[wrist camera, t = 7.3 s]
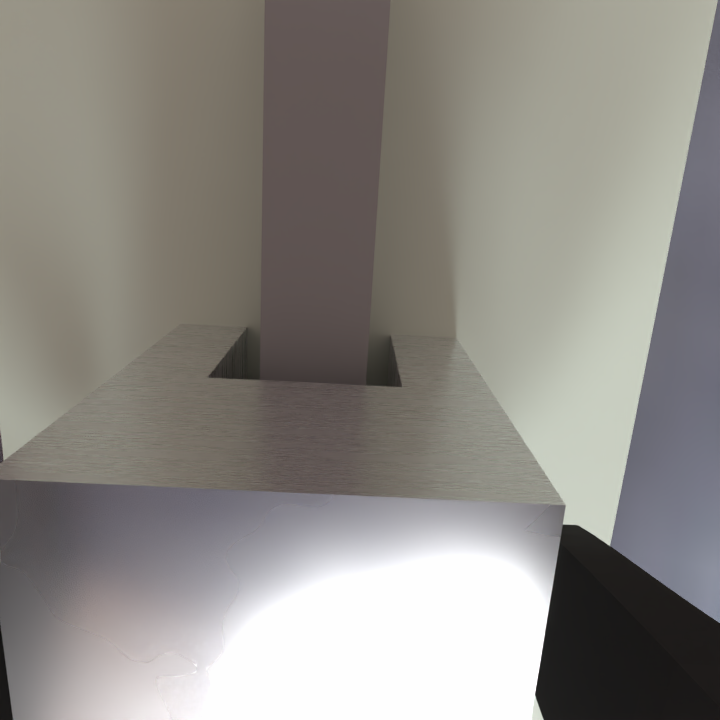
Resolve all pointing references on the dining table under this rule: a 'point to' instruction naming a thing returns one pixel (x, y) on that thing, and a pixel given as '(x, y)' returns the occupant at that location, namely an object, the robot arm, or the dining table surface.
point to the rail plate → (458, 203)
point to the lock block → (277, 545)
